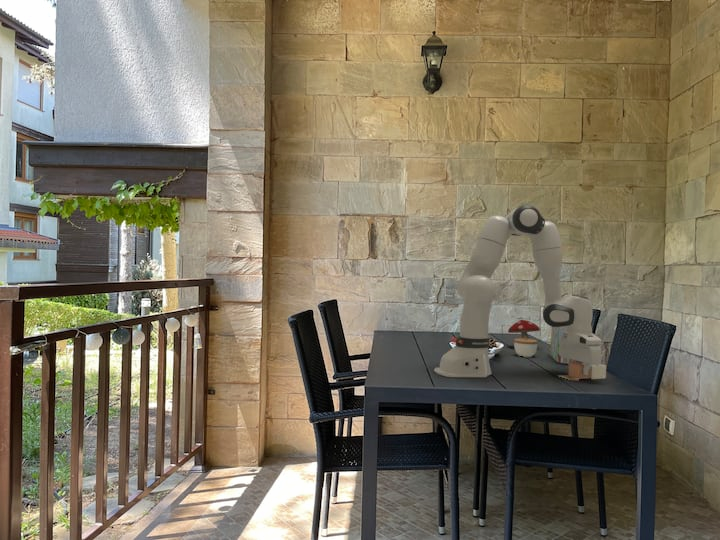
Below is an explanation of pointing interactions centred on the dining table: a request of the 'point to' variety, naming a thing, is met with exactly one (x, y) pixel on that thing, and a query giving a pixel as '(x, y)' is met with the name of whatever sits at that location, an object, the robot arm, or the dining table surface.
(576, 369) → the stub
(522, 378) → the dining table surface
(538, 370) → the dining table surface
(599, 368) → the block
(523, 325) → the decorative mushroom
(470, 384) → the dining table surface
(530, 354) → the lidded jar
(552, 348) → the snack box
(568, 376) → the stub mat
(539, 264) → the robot arm
